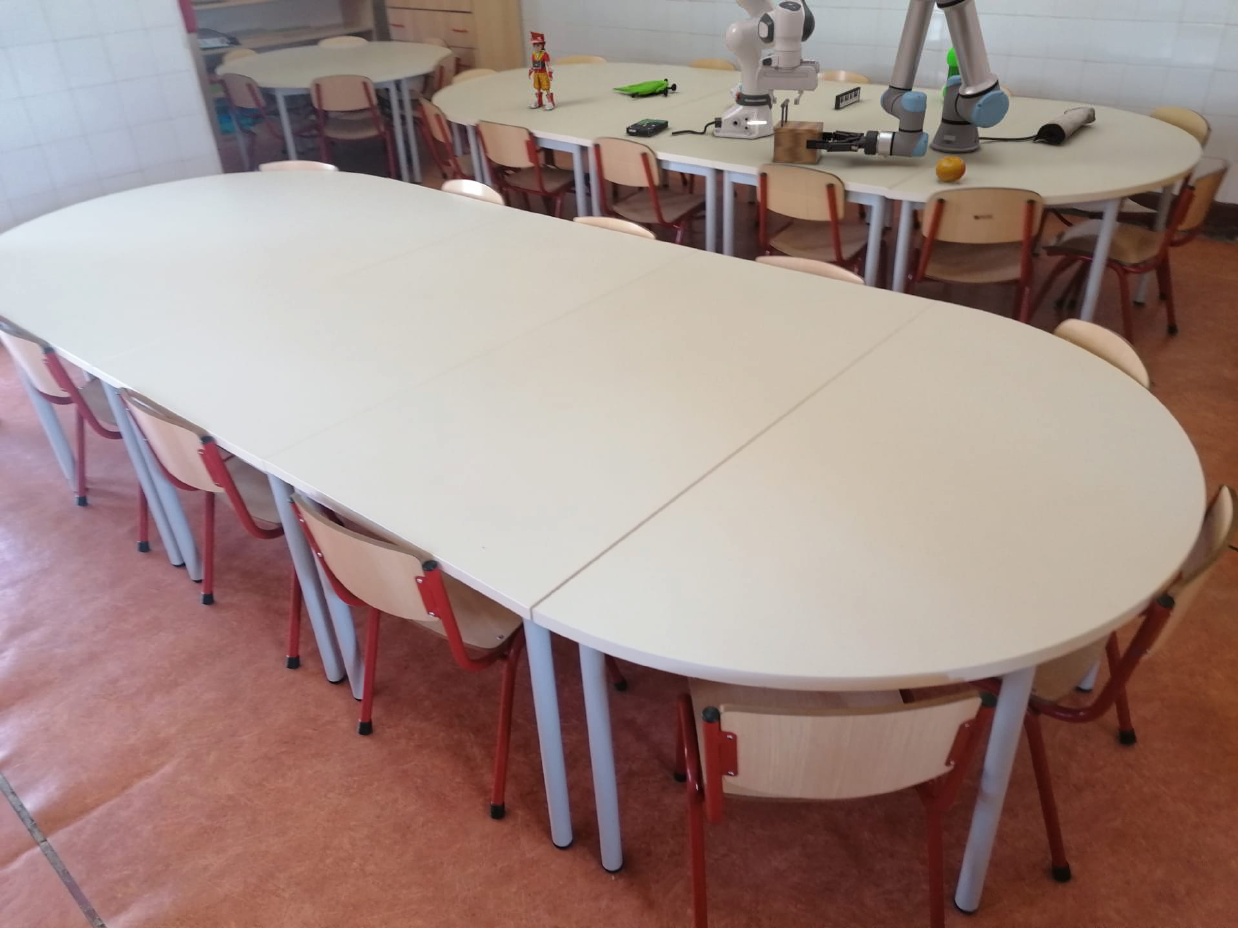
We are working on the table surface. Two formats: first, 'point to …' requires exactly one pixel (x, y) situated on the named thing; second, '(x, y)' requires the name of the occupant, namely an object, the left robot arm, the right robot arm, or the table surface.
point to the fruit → (950, 169)
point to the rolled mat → (1065, 125)
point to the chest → (796, 147)
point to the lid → (795, 123)
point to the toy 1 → (541, 71)
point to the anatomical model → (735, 89)
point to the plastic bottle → (951, 66)
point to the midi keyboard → (847, 97)
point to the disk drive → (647, 127)
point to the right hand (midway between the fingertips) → (809, 140)
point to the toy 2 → (648, 88)
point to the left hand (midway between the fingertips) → (785, 104)
